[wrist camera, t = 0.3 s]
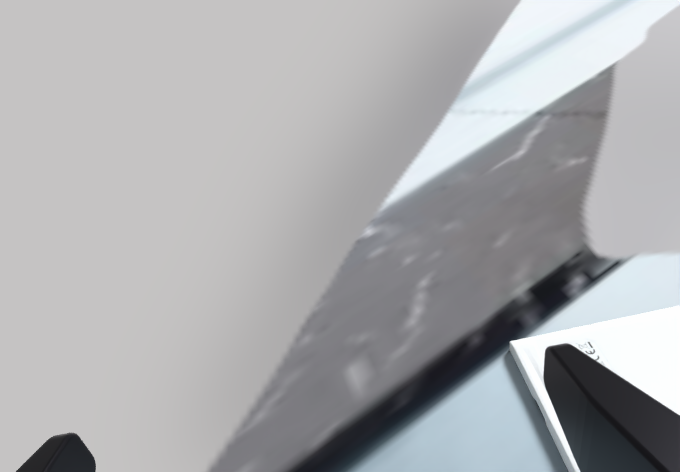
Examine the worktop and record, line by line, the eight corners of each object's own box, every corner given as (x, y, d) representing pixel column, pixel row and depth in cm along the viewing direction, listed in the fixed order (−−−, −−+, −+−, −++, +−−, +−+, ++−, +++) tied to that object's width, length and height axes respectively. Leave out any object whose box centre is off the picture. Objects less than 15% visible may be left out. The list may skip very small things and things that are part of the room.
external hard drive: (852, 443, 22) (576, 496, 22) (720, 311, 28) (508, 354, 29) (869, 423, 21) (579, 479, 21) (728, 292, 27) (509, 336, 28)
